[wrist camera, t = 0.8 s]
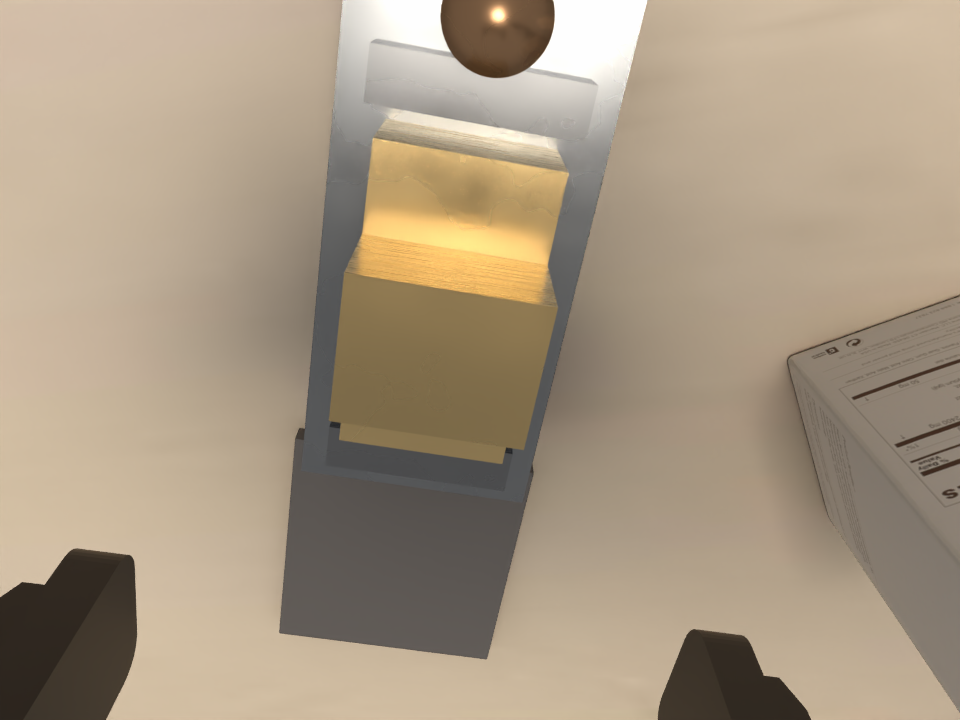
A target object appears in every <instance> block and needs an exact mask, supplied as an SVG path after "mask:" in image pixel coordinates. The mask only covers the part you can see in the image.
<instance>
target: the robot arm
mask: <svg viewBox="0 0 960 720" xmlns="http://www.w3.org/2000/svg"><path fill="white" fill-rule="evenodd" d="M136 641H137V617H136V589H135V565H134V560H133V558H132V556H130V555H124V554H116V553H108V552H100V551H92V550H85V549H77V548H76V549H73V550H71V551H70V552H69V553H68V554H67V555H66V556H65V557H64V559H63V560H62V561H61V563H60V564H59V566H58V567H57V568H56V570H55V571H54V573H53V574H52V575H51V577H50V578H49V580H48V581H47V582H46V584H45V585H41V584H33V583H25V582H22V583H20V584H19V585H17V586H16V587H15V588H13V589H12V590H10V591H9V592H7V593H6V594H4V595H3V596H2V597H0V720H106V718H107V716H108V714H109V712H110V710H111V708H112V706H113V704H114V702H115V700H116V698H117V696H118V695H119V693H120V691H121V689H122V687H123V685H124V682H125V680H126V678H127V676H128V673H129V670H130V667H131V664H132V661H133V657H134V653H135V648H136ZM658 720H811V718H810V716H809V714H808V712H807V710H806V709H805V707H804V706H803V705H802V704H801V703H800V702H799V700H798V699H797V698H796V697H795V696H794V695H793V693H792V692H791V691H790V690H789V689H788V687H787V686H786V685H785V684H784V683H783V682H782V680H781V679H780V678H777V677H769V676H764V675H763V673H762V670H761V668H760V666H759V663H758V661H757V658H756V656H755V653H754V651H753V649H752V646H751V644H750V642H749V641H748V640H747V638H745V637H744V636H742V635H735V634H727V633H719V632H712V631H704V630H696V629H693V630H691V631H690V632H689V633H688V634H687V636H686V638H685V640H684V643H683V645H682V648H681V650H680V653H679V655H678V658H677V660H676V663H675V665H674V668H673V670H672V673H671V675H670V678H669V680H668V683H667V685H666V688H665V690H664V693H663V695H662V698H661V701H660V705H659V712H658Z"/></svg>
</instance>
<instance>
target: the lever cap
mask: <svg viewBox="0 0 960 720" xmlns="http://www.w3.org/2000/svg"><path fill="white" fill-rule="evenodd" d="M567 178H568V171H567V169H566V167H565V164H564V162H563V160H562V158H561V156H560V154H559V152H558V150H556V149H550V148H545V147H539V146H534V145H528V144H523V143H517V142H512V141H506V140H501V139H495V138H490V137H484V136H479V135H473V134H468V133H462V132H457V131H451V130H446V129H440V128H435V127H429V126H424V125H418V124H413V123H407V122H402V121H396V120H391V119H385V121H384V122H383V124H382V125H381V127H380V128H379V130H378V131H377V132H376V134H375V135H374V137H373V141H372V150H371V159H370V168H369V177H368V186H367V195H366V203H365V212H364V221H363V230H362V235H361V237H360V239H359V241H358V244H357V246H356V248H355V250H354V252H353V254H352V257H351V259H350V261H349V263H348V265H347V267H346V270H345V272H344V279H343V289H342V298H341V308H340V318H339V327H338V337H337V346H336V356H335V366H334V375H333V385H332V394H331V404H330V414H329V421H332V422H339V423H341V426H340V435H339V440H342V441H349V442H355V443H362V444H369V445H376V446H383V447H389V448H396V449H403V450H410V451H417V452H423V453H430V454H437V455H444V456H450V457H457V458H464V459H471V460H478V461H484V462H491V463H498V464H502V463H503V459H504V454H505V450H506V447H507V448H513V449H520V450H524V447H525V443H526V439H527V435H528V431H529V427H530V422H531V418H532V414H533V410H534V406H535V402H536V397H537V393H538V389H539V385H540V381H541V377H542V372H543V368H544V364H545V360H546V356H547V352H548V347H549V343H550V339H551V335H552V331H553V327H554V323H555V318H556V314H557V310H558V305H557V301H556V297H555V293H554V289H553V285H552V281H551V277H550V273H549V269H548V261H549V257H550V252H551V248H552V243H553V239H554V235H555V230H556V226H557V222H558V217H559V213H560V208H561V204H562V200H563V195H564V191H565V186H566V182H567Z"/></svg>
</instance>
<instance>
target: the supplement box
mask: <svg viewBox="0 0 960 720" xmlns="http://www.w3.org/2000/svg"><path fill="white" fill-rule="evenodd" d="M788 365H789V369H790V373H791V377H792V381H793V385H794V388H795V392H796V396H797V400H798V404H799V407H800V411H801V415H802V419H803V423H804V427H805V430H806V434H807V438H808V442H809V445H810V449H811V453H812V457H813V460H814V464H815V468H816V472H817V475H818V479H819V483H820V487H821V490H822V494H823V498H824V502H825V505H826V509H827V513H828V516H829V518H830V520H831V522H832V523H833V525H834V526H835V528H836V529H837V530H838V532H839V533H840V535H841V536H842V538H843V539H844V541H845V542H846V544H847V545H848V547H849V548H850V550H851V551H852V553H853V554H854V556H855V557H856V559H857V560H858V562H859V563H860V565H861V566H862V568H863V569H864V571H865V572H866V574H867V575H868V577H869V578H870V580H871V581H872V583H873V584H874V586H875V587H876V589H877V590H878V592H879V593H880V595H881V596H882V598H883V599H884V601H885V602H886V604H887V605H888V607H889V608H890V610H891V611H892V612H893V614H894V615H895V617H896V618H897V620H898V621H899V623H900V624H901V626H902V627H903V629H904V630H905V632H906V633H907V635H908V636H909V638H910V639H911V641H912V642H913V644H914V645H915V647H916V648H917V650H918V651H919V653H920V654H921V656H922V657H923V659H924V660H925V662H926V663H927V665H928V666H929V668H930V669H931V671H932V672H933V674H934V675H935V677H936V678H937V679H938V681H939V682H940V684H941V685H942V687H943V688H944V690H945V691H946V693H947V694H948V696H949V697H950V699H951V700H952V702H953V703H954V705H955V706H956V708H957V709H958V711H959V712H960V296H959V297H956V298H954V299H951V300H948V301H945V302H942V303H940V304H937V305H934V306H931V307H928V308H925V309H922V310H920V311H917V312H914V313H911V314H908V315H905V316H902V317H900V318H897V319H894V320H891V321H888V322H886V323H883V324H880V325H877V326H874V327H872V328H869V329H866V330H863V331H860V332H858V333H855V334H852V335H849V336H846V337H844V338H841V339H838V340H835V341H832V342H829V343H827V344H824V345H821V346H818V347H815V348H812V349H810V350H807V351H804V352H801V353H798V354H796V355H793V356H791V357H790V358H789V360H788Z"/></svg>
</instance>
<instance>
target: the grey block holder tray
mask: <svg viewBox="0 0 960 720" xmlns="http://www.w3.org/2000/svg"><path fill="white" fill-rule="evenodd" d="M646 3H647V0H343V4H342V15H341V26H340V38H339V49H338V60H337V72H336V83H335V94H334V106H333V117H332V128H331V139H330V151H329V162H328V173H327V185H326V196H325V207H324V218H323V230H322V241H321V252H320V264H319V275H318V286H317V298H316V309H315V320H314V331H313V343H312V354H311V365H310V377H309V388H308V399H307V411H306V422H305V433H304V444H303V456H302V467H301V471H305V472H312V473H319V474H326V475H333V476H340V477H346V478H353V479H360V480H367V481H374V482H381V483H388V484H395V485H402V486H409V487H416V488H423V489H430V490H437V491H444V492H451V493H458V494H465V495H472V496H479V497H486V498H493V499H500V500H507V501H514V502H520V503H523V499H524V494H525V490H526V486H527V482H528V478H529V474H530V470H531V466H532V462H533V458H534V454H535V450H536V446H537V442H538V438H539V434H540V430H541V426H542V422H543V418H544V414H545V410H546V406H547V402H548V398H549V394H550V390H551V386H552V382H553V378H554V374H555V370H556V366H557V362H558V358H559V354H560V350H561V346H562V342H563V338H564V333H565V329H566V325H567V321H568V317H569V313H570V309H571V305H572V301H573V297H574V293H575V289H576V285H577V281H578V277H579V273H580V269H581V265H582V261H583V257H584V253H585V249H586V245H587V241H588V237H589V233H590V229H591V225H592V221H593V217H594V213H595V209H596V205H597V201H598V197H599V193H600V189H601V185H602V181H603V176H604V172H605V168H606V164H607V160H608V156H609V152H610V148H611V144H612V140H613V136H614V132H615V128H616V124H617V120H618V116H619V112H620V108H621V104H622V100H623V96H624V92H625V88H626V84H627V80H628V76H629V72H630V68H631V64H632V60H633V56H634V52H635V48H636V44H637V40H638V36H639V32H640V28H641V24H642V19H643V15H644V11H645V7H646ZM385 119H391V120H396V121H402V122H407V123H413V124H418V125H424V126H429V127H435V128H440V129H446V130H451V131H457V132H462V133H468V134H473V135H479V136H484V137H490V138H495V139H501V140H506V141H512V142H517V143H523V144H528V145H534V146H539V147H545V148H550V149H556V150H558V152H559V154H560V156H561V158H562V160H563V162H564V164H565V167H566V169H567V171H568V178H567V182H566V186H565V191H564V195H563V200H562V204H561V208H560V213H559V217H558V222H557V226H556V230H555V235H554V239H553V243H552V248H551V252H550V257H549V261H548V269H549V273H550V277H551V281H552V285H553V289H554V293H555V297H556V301H557V305H558V310H557V314H556V318H555V323H554V327H553V331H552V335H551V339H550V343H549V347H548V352H547V356H546V360H545V364H544V368H543V372H542V377H541V381H540V385H539V389H538V393H537V397H536V402H535V406H534V410H533V414H532V418H531V422H530V427H529V431H528V435H527V439H526V443H525V447H524V450H520V449H513V448H507V447H506V450H505V454H504V459H503V463H502V464H498V463H491V462H484V461H478V460H471V459H464V458H457V457H450V456H444V455H437V454H430V453H423V452H417V451H410V450H403V449H396V448H389V447H383V446H376V445H369V444H362V443H355V442H349V441H342V440H339V435H340V426H341V423H339V422H332V421H329V414H330V404H331V394H332V385H333V375H334V366H335V356H336V346H337V337H338V327H339V318H340V308H341V298H342V289H343V279H344V272H345V270H346V267H347V265H348V263H349V261H350V259H351V257H352V254H353V252H354V250H355V248H356V246H357V244H358V241H359V239H360V237H361V235H362V230H363V221H364V212H365V203H366V195H367V186H368V177H369V168H370V159H371V150H372V141H373V137H374V135H375V134H376V132H377V131H378V130H379V128H380V127H381V125H382V124H383V122H384V121H385Z"/></svg>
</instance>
